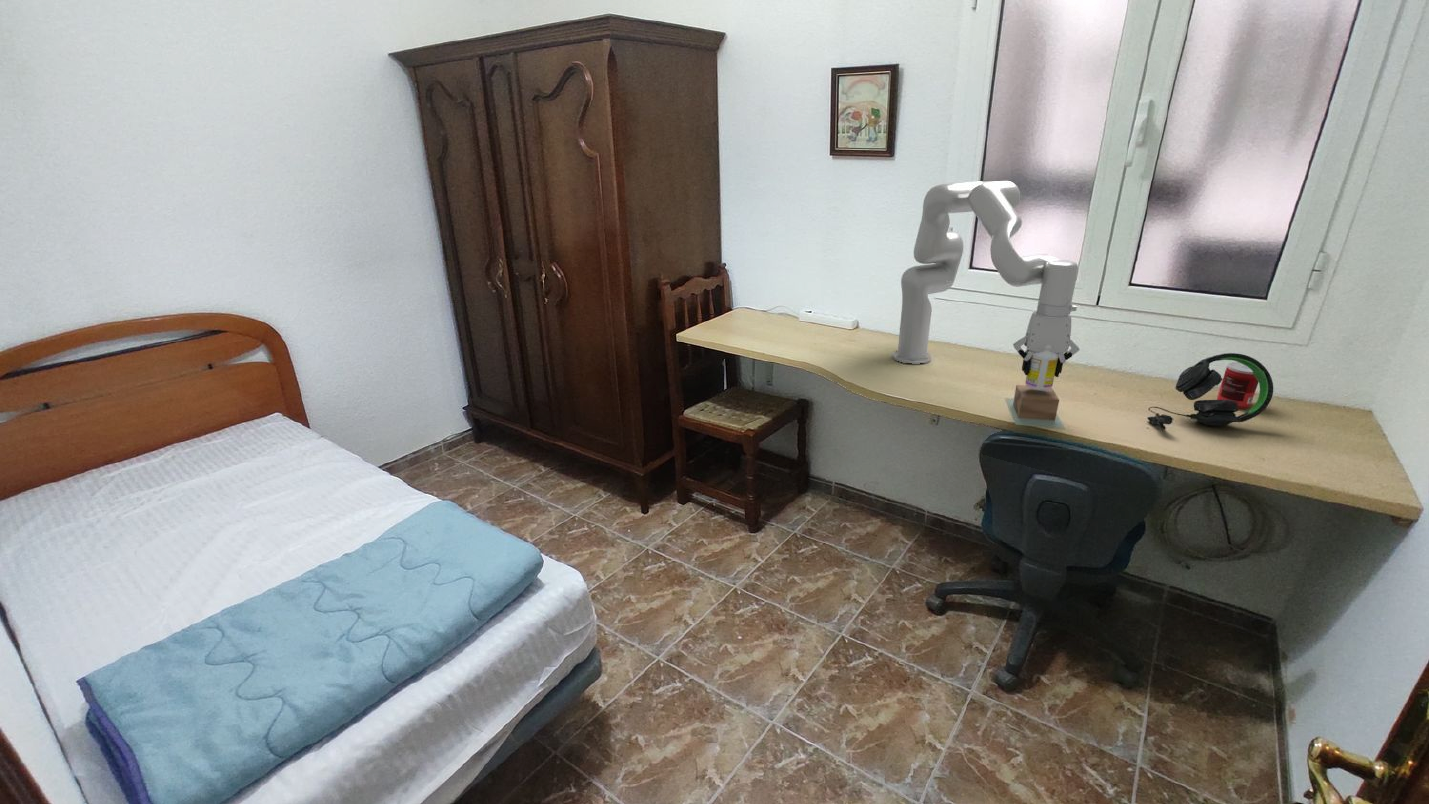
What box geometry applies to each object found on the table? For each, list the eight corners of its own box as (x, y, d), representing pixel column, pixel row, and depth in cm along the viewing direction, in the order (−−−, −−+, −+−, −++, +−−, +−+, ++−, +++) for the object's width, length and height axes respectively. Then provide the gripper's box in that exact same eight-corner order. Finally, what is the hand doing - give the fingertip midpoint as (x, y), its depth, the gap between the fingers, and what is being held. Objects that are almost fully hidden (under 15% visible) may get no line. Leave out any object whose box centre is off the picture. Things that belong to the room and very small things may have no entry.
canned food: (1243, 399, 182) (1255, 363, 177) (1254, 410, 175) (1268, 373, 171) (1211, 396, 184) (1223, 360, 180) (1221, 407, 177) (1233, 370, 173)
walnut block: (1012, 404, 181) (1016, 384, 179) (1047, 407, 179) (1051, 387, 177) (1018, 417, 173) (1022, 397, 171) (1054, 420, 171) (1059, 400, 169)
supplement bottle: (1051, 384, 175) (1061, 339, 169) (1052, 392, 169) (1061, 346, 164) (1024, 380, 177) (1033, 336, 172) (1024, 389, 172) (1032, 343, 166)
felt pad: (1004, 399, 186) (1004, 397, 185) (1049, 402, 183) (1049, 401, 183) (1015, 426, 170) (1015, 424, 170) (1064, 430, 167) (1065, 428, 167)
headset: (1158, 450, 173) (1274, 404, 166) (1178, 452, 160) (1305, 403, 153) (1125, 391, 176) (1238, 343, 169) (1142, 388, 163) (1265, 336, 156)
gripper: (1086, 307, 166) (1072, 371, 173) (1014, 304, 170) (1003, 367, 177) (1094, 315, 159) (1079, 381, 166) (1019, 312, 163) (1008, 377, 170)
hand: (1040, 373), depth 172 cm, fingers closed on supplement bottle, 6 cm apart
